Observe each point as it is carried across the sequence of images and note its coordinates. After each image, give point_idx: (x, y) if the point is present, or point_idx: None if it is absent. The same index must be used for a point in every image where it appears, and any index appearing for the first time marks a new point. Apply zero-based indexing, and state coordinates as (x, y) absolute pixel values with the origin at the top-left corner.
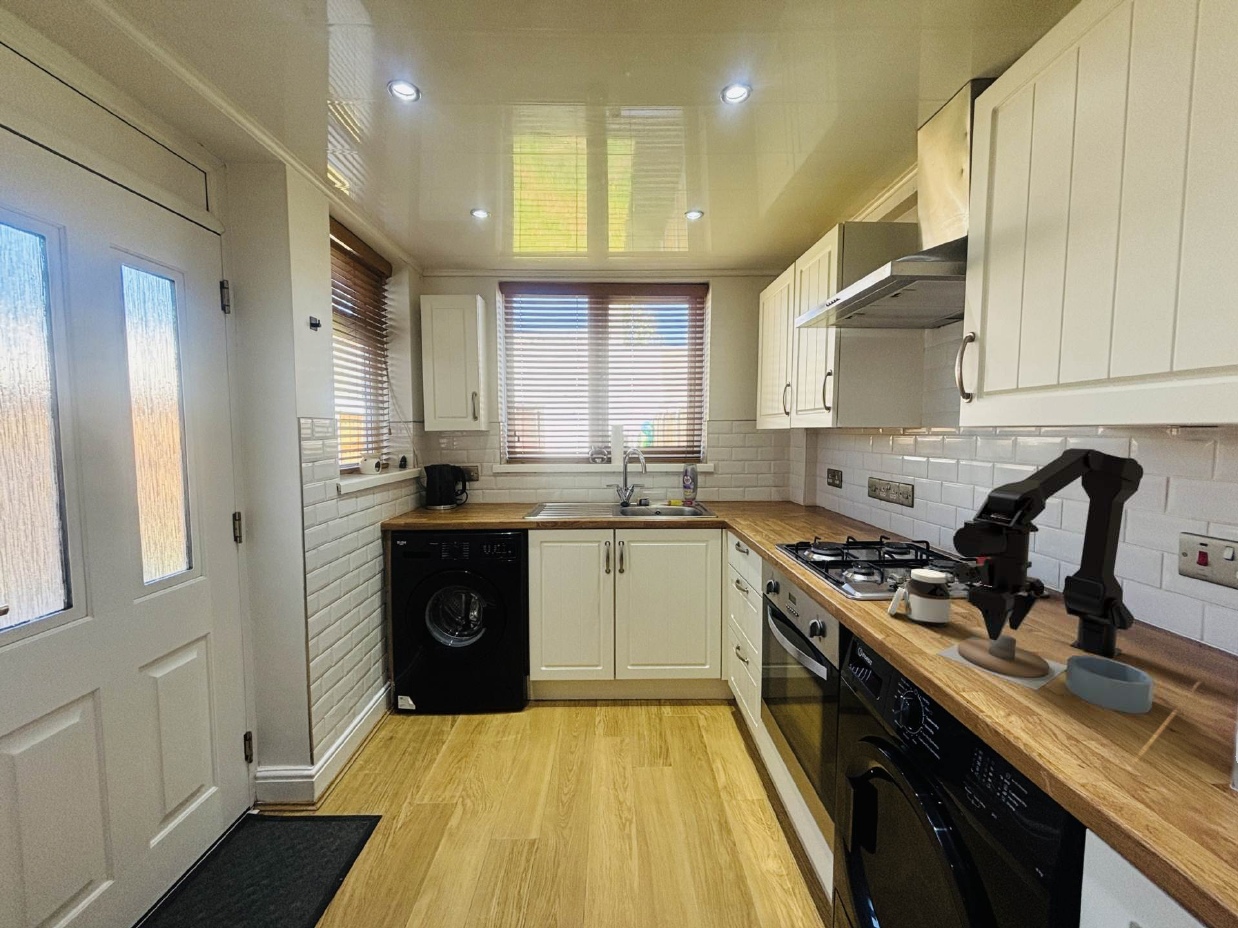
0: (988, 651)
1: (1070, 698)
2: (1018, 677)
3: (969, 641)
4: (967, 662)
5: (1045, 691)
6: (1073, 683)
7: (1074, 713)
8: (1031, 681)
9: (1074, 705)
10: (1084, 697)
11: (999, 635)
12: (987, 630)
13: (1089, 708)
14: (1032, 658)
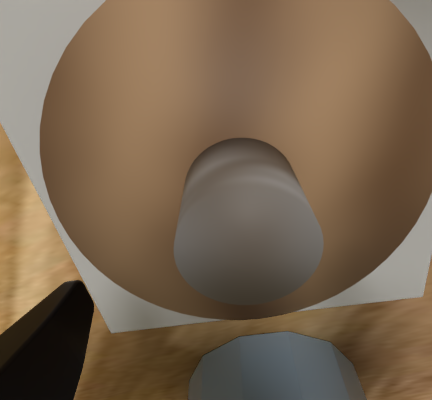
0: (219, 139)
1: (175, 363)
2: None
3: None
4: (39, 135)
5: (147, 331)
6: (199, 394)
7: (103, 389)
8: (153, 306)
9: (144, 377)
10: (189, 389)
11: (81, 352)
12: (10, 329)
13: (165, 390)
14: (334, 255)
